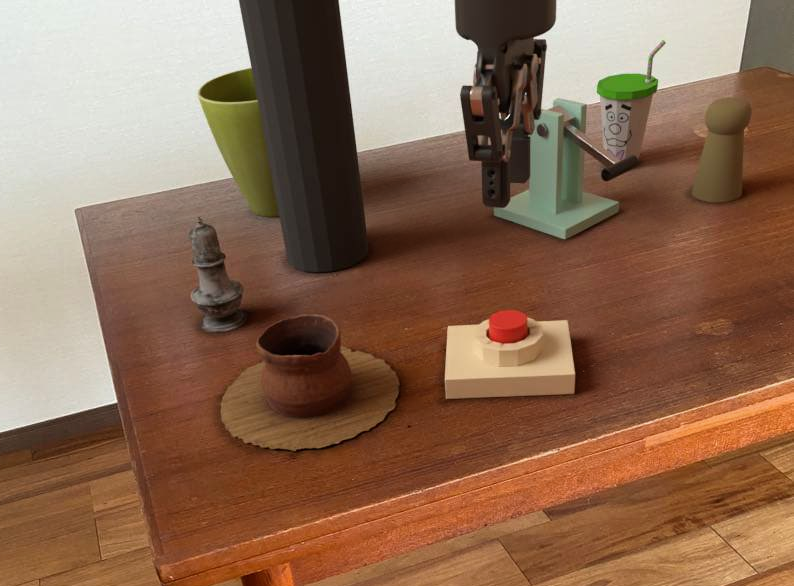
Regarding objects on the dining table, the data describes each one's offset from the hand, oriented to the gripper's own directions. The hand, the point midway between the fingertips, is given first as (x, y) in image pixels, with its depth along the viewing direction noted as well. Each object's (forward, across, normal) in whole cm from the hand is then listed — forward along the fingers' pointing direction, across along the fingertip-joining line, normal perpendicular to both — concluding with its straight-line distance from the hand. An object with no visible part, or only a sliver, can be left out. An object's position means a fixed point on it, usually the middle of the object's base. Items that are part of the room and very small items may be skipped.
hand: (506, 192), depth 75 cm
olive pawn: (+18, +46, -12) cm, 51 cm away
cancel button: (+14, 0, 0) cm, 14 cm away
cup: (+18, +54, +2) cm, 57 cm away
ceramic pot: (+18, -10, +17) cm, 26 cm away
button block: (+17, 0, 0) cm, 17 cm away
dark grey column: (+18, +19, +30) cm, 40 cm away
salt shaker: (+18, +1, +34) cm, 38 cm away
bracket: (+17, +36, +6) cm, 40 cm away
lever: (+9, +34, +2) cm, 36 cm away
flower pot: (+18, +31, +44) cm, 57 cm away
